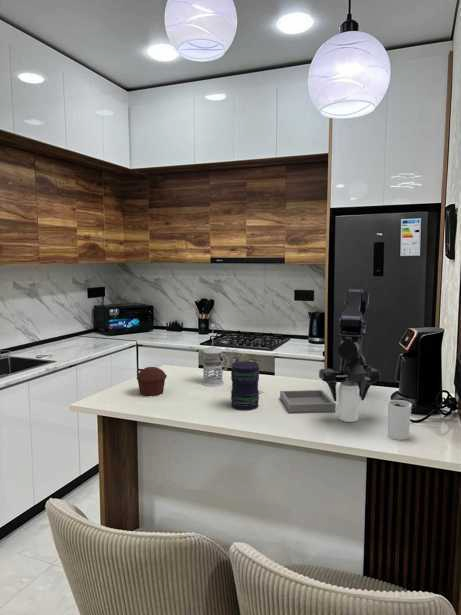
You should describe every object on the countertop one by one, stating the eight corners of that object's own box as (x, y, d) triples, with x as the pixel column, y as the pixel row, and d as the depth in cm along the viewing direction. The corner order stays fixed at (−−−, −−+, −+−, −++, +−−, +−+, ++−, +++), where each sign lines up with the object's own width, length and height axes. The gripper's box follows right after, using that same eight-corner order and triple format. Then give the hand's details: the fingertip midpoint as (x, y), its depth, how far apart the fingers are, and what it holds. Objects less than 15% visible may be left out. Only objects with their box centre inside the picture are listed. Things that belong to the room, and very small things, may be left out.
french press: (199, 380, 197) (198, 322, 194) (225, 379, 199) (225, 321, 196) (203, 387, 187) (203, 326, 184) (231, 385, 190) (231, 325, 187)
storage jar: (263, 404, 166) (263, 363, 165) (251, 412, 158) (251, 369, 156) (238, 400, 171) (238, 360, 169) (225, 407, 162) (226, 366, 161)
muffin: (130, 394, 178) (129, 368, 177) (150, 387, 187) (150, 363, 186) (153, 399, 171) (153, 373, 170) (173, 392, 180) (172, 367, 179)
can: (347, 424, 147) (348, 387, 146) (333, 417, 153) (334, 382, 151) (362, 420, 150) (364, 384, 149) (348, 414, 156) (350, 379, 154)
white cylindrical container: (381, 435, 138) (383, 402, 137) (394, 430, 142) (396, 398, 141) (401, 442, 133) (403, 408, 132) (414, 436, 137) (416, 404, 136)
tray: (322, 397, 174) (322, 389, 174) (335, 412, 158) (335, 403, 158) (279, 398, 172) (280, 390, 172) (289, 413, 157) (289, 404, 156)
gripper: (329, 359, 140) (327, 409, 142) (389, 358, 142) (386, 407, 143) (319, 351, 151) (317, 398, 153) (374, 350, 153) (372, 396, 155)
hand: (348, 400), depth 151 cm, fingers open, 9 cm apart
